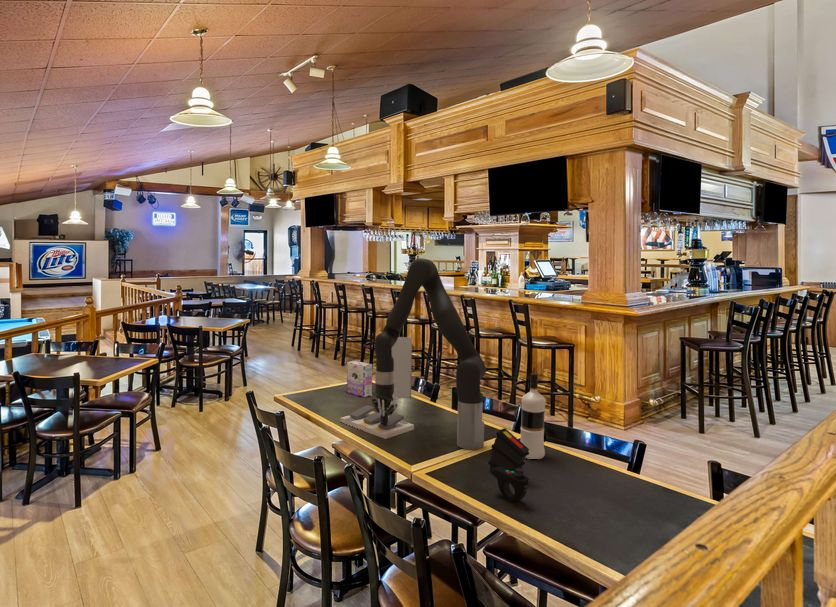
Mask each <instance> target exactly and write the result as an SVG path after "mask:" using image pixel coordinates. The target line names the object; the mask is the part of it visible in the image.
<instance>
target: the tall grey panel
mask: <svg viewBox="0 0 836 607" xmlns="http://www.w3.org/2000/svg"><path fill="white" fill-rule="evenodd" d="M412 348H413V337H408V336H407V337H404V336H399V337H398V339H397V341H396V343H395V344H394V346H393V347H392V357H393V359H394V393H393V395H392V397H398V398H397V399H409V398H411V397H412V362H413V361H412V357H413V354H412V353H413V352H412Z"/></svg>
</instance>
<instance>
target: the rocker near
mask: <svg viewBox="0 0 836 607" xmlns="http://www.w3.org/2000/svg"><path fill="white" fill-rule="evenodd" d="M389 416H390V417H389V418H388V423H387V424H386V425H382V424H381V423H380V424H379V425H378V428H381V429H384V430H388V429H390V428H391V427H393V426H394V425H396V424H397V423H398V422H400V421H404V419H405V416H404V415H402V414H399V413H396V412H395V413H392V414H391V415H389Z"/></svg>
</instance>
